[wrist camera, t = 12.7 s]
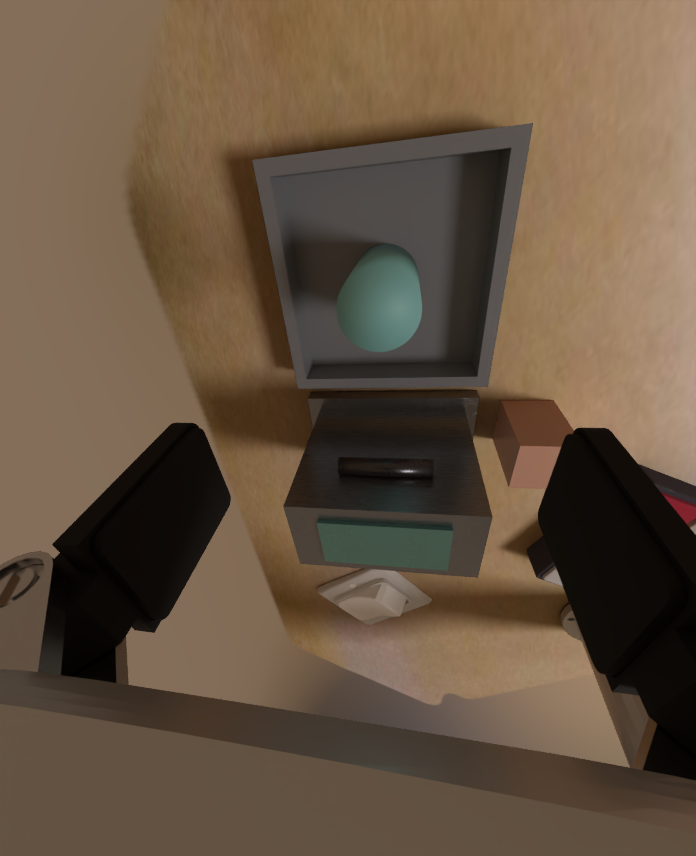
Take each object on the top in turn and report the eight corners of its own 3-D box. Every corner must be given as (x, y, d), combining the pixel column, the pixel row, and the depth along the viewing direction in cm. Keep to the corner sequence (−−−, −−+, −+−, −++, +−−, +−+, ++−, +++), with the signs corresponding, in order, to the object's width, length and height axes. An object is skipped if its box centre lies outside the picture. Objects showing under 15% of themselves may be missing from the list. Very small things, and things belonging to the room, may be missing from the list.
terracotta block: (553, 400, 27) (584, 447, 22) (540, 439, 29) (567, 489, 25) (500, 400, 28) (520, 445, 23) (492, 438, 30) (508, 487, 25)
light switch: (435, 620, 45) (364, 643, 51) (432, 590, 48) (366, 615, 54) (383, 581, 41) (312, 611, 47) (383, 552, 45) (317, 583, 50)
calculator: (772, 532, 28) (627, 615, 36) (729, 494, 31) (606, 578, 40) (658, 488, 27) (536, 584, 35) (627, 455, 30) (523, 549, 39)
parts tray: (516, 130, 18) (533, 122, 16) (480, 367, 26) (487, 386, 24) (270, 162, 20) (252, 159, 18) (307, 371, 29) (298, 388, 26)
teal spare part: (420, 241, 21) (424, 262, 16) (417, 311, 24) (420, 351, 18) (351, 246, 22) (331, 267, 16) (355, 314, 25) (340, 352, 19)
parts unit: (477, 389, 27) (517, 508, 17) (465, 463, 32) (492, 591, 22) (310, 390, 30) (261, 496, 20) (322, 459, 34) (288, 574, 24)
